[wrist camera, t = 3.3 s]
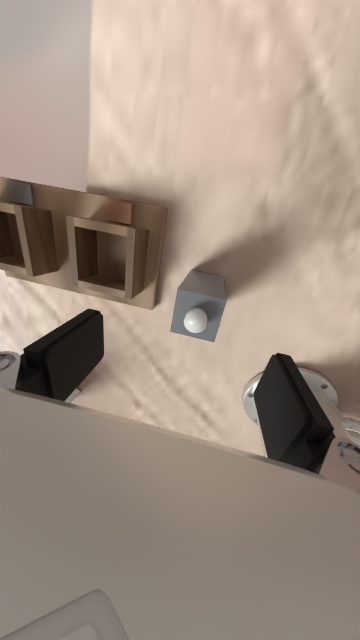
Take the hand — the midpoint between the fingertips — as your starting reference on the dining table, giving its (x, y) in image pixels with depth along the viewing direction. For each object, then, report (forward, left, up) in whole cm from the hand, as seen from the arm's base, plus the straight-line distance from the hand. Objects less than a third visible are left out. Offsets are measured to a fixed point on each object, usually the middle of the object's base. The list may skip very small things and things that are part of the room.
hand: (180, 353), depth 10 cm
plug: (0, 0, -15) cm, 15 cm away
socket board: (+17, -2, -15) cm, 22 cm away
